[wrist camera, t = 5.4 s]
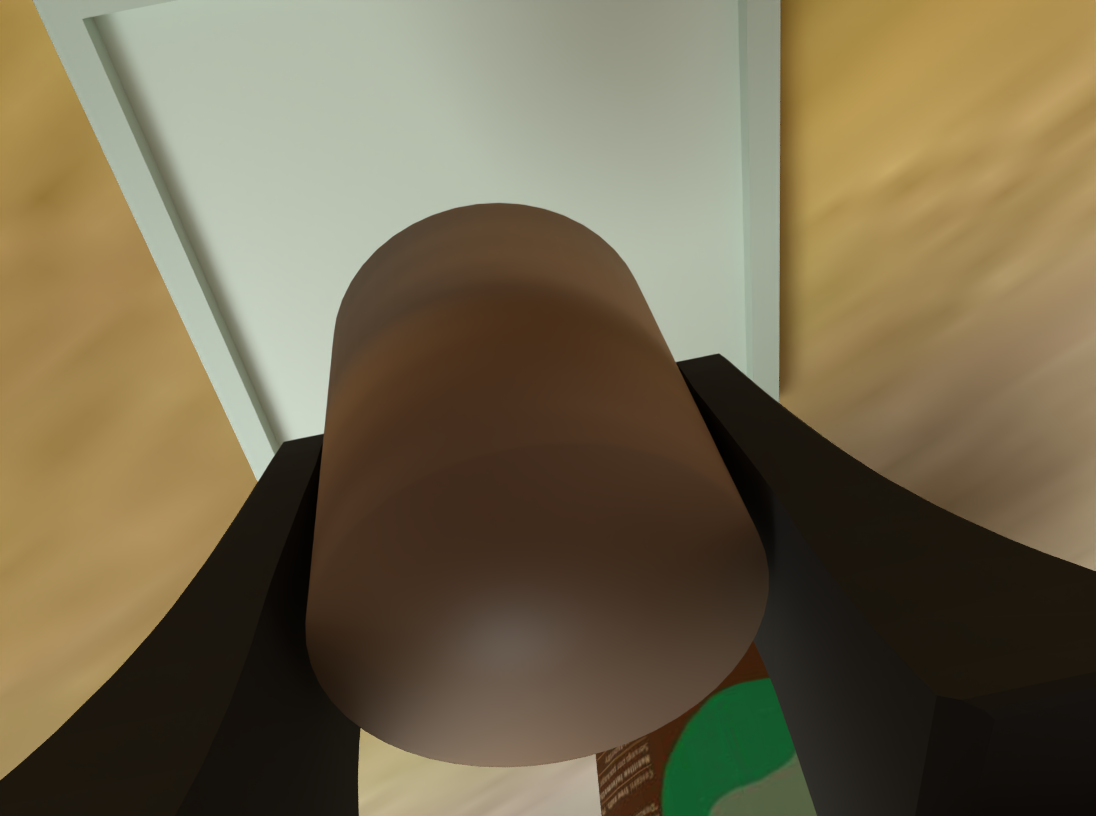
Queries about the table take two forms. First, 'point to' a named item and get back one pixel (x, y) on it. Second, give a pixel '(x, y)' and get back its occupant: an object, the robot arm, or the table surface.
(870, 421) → the table surface
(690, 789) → the food container
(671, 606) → the walnut cylinder
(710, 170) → the coaster
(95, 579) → the table surface
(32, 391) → the table surface
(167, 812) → the robot arm
